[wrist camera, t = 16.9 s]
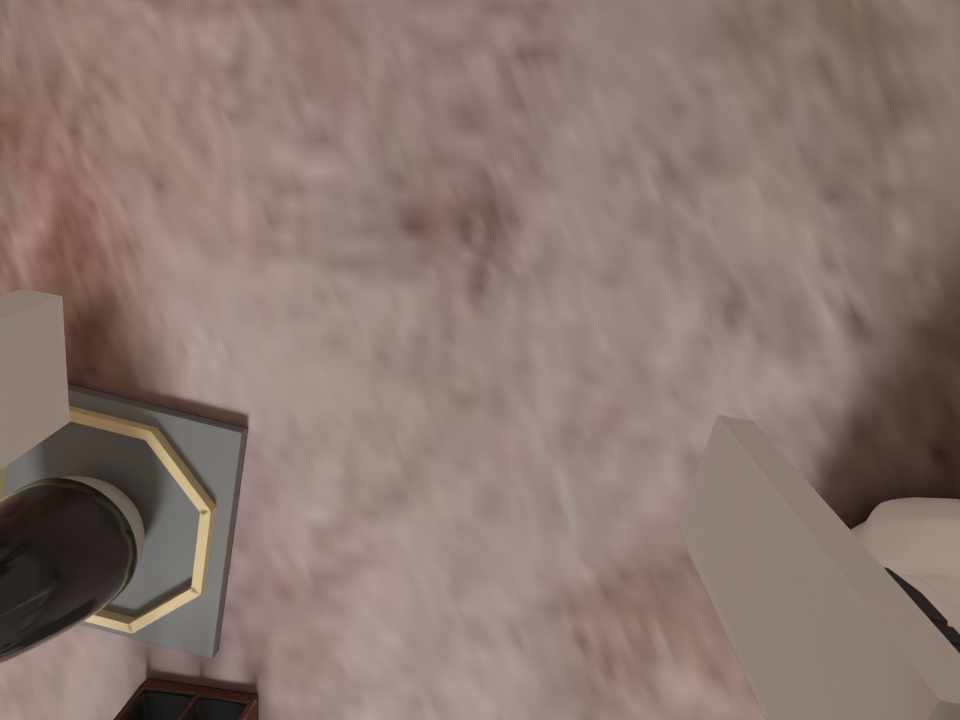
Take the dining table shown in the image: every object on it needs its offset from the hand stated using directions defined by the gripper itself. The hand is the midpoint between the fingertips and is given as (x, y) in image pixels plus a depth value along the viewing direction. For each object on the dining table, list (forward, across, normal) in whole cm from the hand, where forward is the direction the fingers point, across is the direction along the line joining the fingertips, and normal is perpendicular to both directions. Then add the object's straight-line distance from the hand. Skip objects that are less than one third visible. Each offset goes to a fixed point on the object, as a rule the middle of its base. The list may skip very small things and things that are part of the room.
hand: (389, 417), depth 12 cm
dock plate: (+29, -23, -28) cm, 47 cm away
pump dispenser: (+28, -23, -28) cm, 46 cm away
